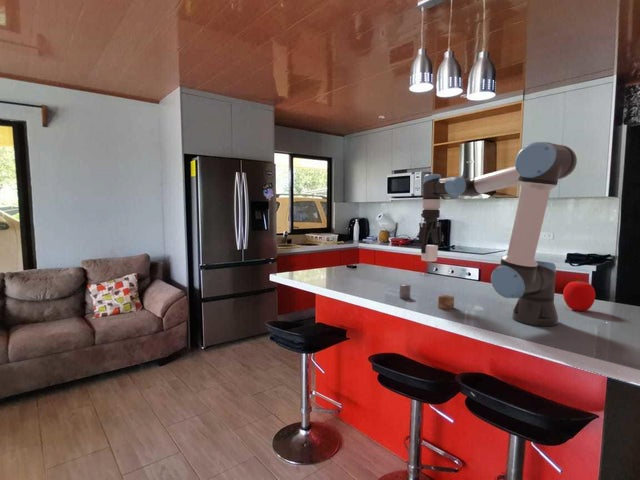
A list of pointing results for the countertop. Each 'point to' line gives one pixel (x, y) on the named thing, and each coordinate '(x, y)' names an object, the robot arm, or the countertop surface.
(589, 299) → the tomato
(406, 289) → the dark grey cylinder
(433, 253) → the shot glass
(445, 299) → the walnut block
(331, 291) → the countertop surface
